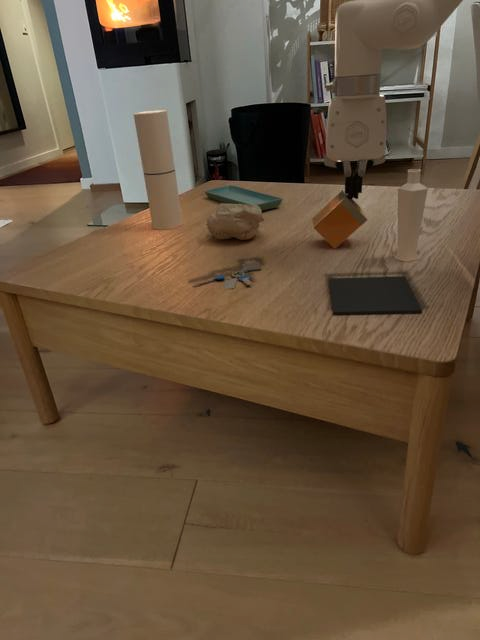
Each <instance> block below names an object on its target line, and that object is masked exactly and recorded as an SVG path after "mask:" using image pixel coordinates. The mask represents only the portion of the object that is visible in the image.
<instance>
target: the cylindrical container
mask: <svg viewBox="0 0 480 640" xmlns="http://www.w3.org/2000/svg"><path fill="white" fill-rule="evenodd" d="M168 116H169V115H168V110H167V109H161V110H160V109H158V110H148V111H139V112H134V113H133V119H134V126H135V132H136V136H137V142H138V148H139V155H140V160H141V161H140V162H141V166H142V167H141V168H142V173H143V178H144V184H145V189H146V196H147V201H148V202H147V203H148V206H149V213H150V218H151V225H152V228H153V230H158V231H168V230H173V229H177V228H180V227H182V226H183V218H182V209H181V203H180V196H179V188H178V181H177V174H176V166H175V158H174V153H173V152H174V151H173V145H172V139H171V130H170V123H169V118H168Z"/></svg>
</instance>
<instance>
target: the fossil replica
mask: <svg viewBox="0 0 480 640" xmlns="http://www.w3.org/2000/svg"><path fill="white" fill-rule="evenodd" d="M264 221H265V217H264V216H263V211H261V208H260V207H259V206H257V205H246V204H226V203H219V205H218V206H217V208H216V210H215V212H214V213H212V214H210V215H209V217H207V220H206V226H207V227H206V229H207V230H208V232H209V234H211V236H212V237H214V238H215V239H219V240H221V241H222V240H229V239H232V238H235V239H237V240H240V241H244V240H245V241H247V240H250V239H252V238H253V237H255V236H256V234H257V232H258V229H260V223H261V222H264Z"/></svg>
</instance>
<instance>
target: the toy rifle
mask: <svg viewBox="0 0 480 640" xmlns="http://www.w3.org/2000/svg"><path fill="white" fill-rule="evenodd" d="M258 270H262V266H261V264H260V262H249V263H243V264H241V269H239V270H237V271H225V272H223V273H222V274H217V275H214V276H213V278H209V279H207V280H202V281H199V282H196V283H193V284H192V286H198V285H202V284H205V283H207V282H208V283H209V282H210V281H214V280H223V279H225V280H224V282H223V288H224V290H232V289H233V290H234V289H235V287H236V283H237V280H238V281H239V282H240V281H242V282H243V284H245V285H246V286H251V285H252V284H253V282H251V281H250V279H251V275H250V274H245V273H248V272H250V271H258ZM226 273H231V276H232V278H227V277H226V275H225V274H226Z"/></svg>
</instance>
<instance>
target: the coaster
mask: <svg viewBox="0 0 480 640" xmlns="http://www.w3.org/2000/svg"><path fill="white" fill-rule="evenodd" d="M328 285H329V286H328V287H329V292H330V300H331V307H332V315H333V316H346V315H347V316H349V315H350V316H353V315H390V314H391V315H400V314H401V315H403V314H406V315H407V314H423V309H422V307H421V305H420V302H419V300H418V299H417V296H416V295H415V293H414V291H413V289H412V287H411V285H410V283H409V281H408V278H407V277H406V275H398V276H397V275H395V276H364V277H363V276H361V277H360V276H359V277H329V278H328Z"/></svg>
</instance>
